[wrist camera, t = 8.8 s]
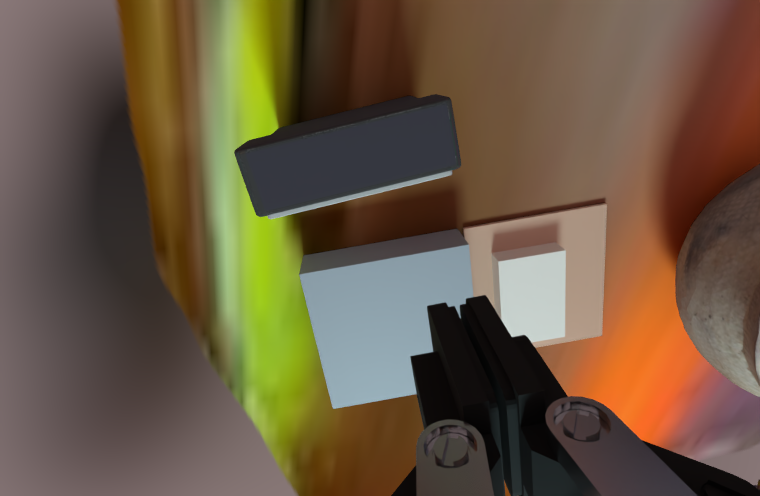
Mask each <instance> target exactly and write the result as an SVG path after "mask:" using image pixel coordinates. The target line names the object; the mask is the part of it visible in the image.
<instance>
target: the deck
mask: <svg viewBox="0 0 760 496" xmlns="http://www.w3.org/2000/svg"><path fill="white" fill-rule="evenodd" d="M299 276H300V279H301V283H302V287H303V291H304V295H305V299H306V303H307V307H308V311H309V315H310V319H311V323H312V327H313V331H314V335H315V339H316V343H317V347H318V351H319V355H320V359H321V363H322V367H323V371H324V375H325V379H326V383H327V387H328V391H329V395H330V399H331V403H332V407H333V409H335V408H341V407H346V406H352V405H357V404H363V403H369V402H374V401H380V400H385V399H391V398H396V397H402V396H408V395H413V394H417V393H416V387H415V382H414V376H413V370H412V365H411V358H410V356H414V355H419V354H424V353H430V352H433V347H432V340H431V333H430V326H429V319H428V312H427V306H428V305H434V304H439V303H444V302H446V303H447V305H448V307H451V306H455V308H456V310H457V312H458V314H459V316H460V305H462V304H466V298H471V297H474V296H473V285H472V274H471V262H470V251H469V244H468V243H467V241H466V240H465V239H464V237H463V236H462V234H461V233H460V232H459V230H458V229H452V230H447V231H441V232H435V233H429V234H424V235H418V236H412V237H407V238H401V239H395V240H389V241H384V242H378V243H372V244H367V245H361V246H355V247H349V248H344V249H338V250H332V251H327V252H321V253H315V254H310V255H304V256H303V260H302V264H301V269H300V273H299ZM460 319H461V316H460Z"/></svg>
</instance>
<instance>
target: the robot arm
mask: <svg viewBox="0 0 760 496" xmlns="http://www.w3.org/2000/svg"><path fill="white" fill-rule="evenodd" d="M427 312H428V319H429V326H430V333H431V340H432V347H433V352H430V353H424V354H419V355H414V356H410V358H411V365H412V370H413V376H414V382H415V387H416V393H417V398H418V403H419V407H420V412H421V416H422V421H423V425H424V431H422V433H421V435H420V436H419V438H418V441H417V446H416V466H415V467H414V468H413V470H412V471H411V472H410V473H409V475H408V476H407V477H406V478H405V480H404V481H403V482H402V483H401V484H400V486H399V487H398V488H397V489H396V491H395V492H394V493H393V494H392V496H505V486H504V480H505V483H506V485H507V488H508V490H509V493H510V495H511V496H518V495H519V496H760V480H759V481H758V485H752V484H750V483H749V482H747V481H746V480H743V479H741V478H739V477H737V476H735V475H733V474H730V473H727V472H725V471H722V470H720V469H717V468H714V467H711V466H709V465H706V464H704V463H701V462H698V461H696V460H693V459H690V458H688V457H685V456H682V455H680V454H677V453H674V452H672V451H669V450H666V449H664V448H661V447H658V446H656V445H653V444H650V443H648V442H645V441H642V440H641V439H640V438H639V437H638V436H637V435H636V434H635V433H633V432H632V431H631V430H630V429H629V428H628V427H627V426H626V425H625V424H624V423H623V422H622V421H621V420H620V419H619V418H618V417H617V416H616V415H615V414H614V413H613V412H612V411H611V410H610V409H609V408H607V407H606V406H605V405H603V404H601V403H599V402H597V401H595V400H593V399H589V398H585V397H574V396H570V397H568V396H567V395H566V393H565V392H564V390H563V389H562V387H561V386H560V384H559V383H558V381H557V380H556V378H555V377H554V375H553V374H552V372H551V371H550V369H549V368H548V366H547V365H546V363H545V362H544V360H543V359H542V357H541V356H540V354H539V353H538V351H537V350H536V349H535V347H534V346H533V344H532V343H531V341H530V340H529V338H528V337H527V336H526V335H520V336H515V337H511V335H510V333H509V332H508V330H507V328H506V327H505V325H504V324H503V322H502V320H501V319H500V317H499V315H498V314H497V312H496V310H495V309H494V307H493V306H492V304H491V302H490V301H489V299H488V297H487V296H486V295H482V296H477V297H471V298H466V304H462V305H460V316H461V319H460V316H459V314H458V312H457V310H456V308H455V306H451V307H448V305H447V303H446V302H444V303H439V304H434V305H428V306H427Z"/></svg>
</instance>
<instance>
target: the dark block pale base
mask: <svg viewBox="0 0 760 496" xmlns="http://www.w3.org/2000/svg"><path fill="white" fill-rule="evenodd" d="M234 153H235V156H236V159H237V162H238V165H239V168H240V171H241V174H242V176H243V179H244V182H245V185H246V188H247V191H248V193H249V196H250V199H251V202H252V205H253V207H254V210H255V213H256V215H257V216H259V217H263V216H268V218H269V219H274V218H278V217H282V216H286V215H290V214H295V213H299V212H303V211H307V210H311V209H315V208H319V207H323V206H327V205H331V204H336V203H340V202H344V201H348V200H352V199H356V198H360V197H364V196H368V195H372V194H376V193H381V192H385V191H389V190H393V189H397V188H401V187H405V186H409V185H413V184H417V183H422V182H426V181H430V180H434V179H438V178H442V177H446V176H449V175H451V174H452V170H455V169H458V168H459V167H460V166H461V159H460V153H459V146H458V140H457V134H456V127H455V121H454V115H453V109H452V103H451V99H450V98H449V97H446V96H441V95H437V94H435V95H430V96H426V97H422V98H416V97H413V96H406V97H402V98H398V99H394V100H390V101H386V102H382V103H378V104H374V105H370V106H366V107H362V108H357V109H353V110H349V111H345V112H341V113H337V114H333V115H329V116H325V117H321V118H317V119H313V120H309V121H305V122H301V123H297V124H293V125H289V126H285V127H281V128H279V129H277V130H276V131H275V132H274V133H273V134H271V135H268V136H264V137H260V138H256V139H252V140H249V141H247V142H246V143H244V144H243V145H241V146H240V147H239V148H237V149H236V150H235V152H234Z"/></svg>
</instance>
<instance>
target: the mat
mask: <svg viewBox="0 0 760 496" xmlns="http://www.w3.org/2000/svg"><path fill="white" fill-rule="evenodd" d="M606 216H607V204H606V203H601V204H595V205H589V206H584V207H578V208H572V209H566V210H561V211H555V212H549V213H544V214H538V215H532V216H526V217H521V218H515V219H509V220H504V221H498V222H492V223H486V224H481V225H475V226H469V227H464V228H463V235H464V239H465V240H466V241H467V243H468V244H469V251H470V262H471V274H472V285H473V296H474V297H477V296H482V295H486V296H487V297H488V299H489V301H490V302H491V304H492V306H493V307H494V309H495V306H494V290H493V273H492V257H491V253H494V252H500V251H506V250H512V249H518V248H524V247H530V246H536V245H541V244H547V243H553V242H556V243H557V244H559V245H560V246H561V247H562V248H564V249H565V250H566V282H565V337H561V338H555V339H549V340H543V341H538V342H532V344H533V346H534V347H535V348H536V347H542V346H547V345H553V344H558V343H564V342H570V341H575V340H581V339H586V338H592V337H598V336H602V322H603V296H604V269H605V243H606Z"/></svg>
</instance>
